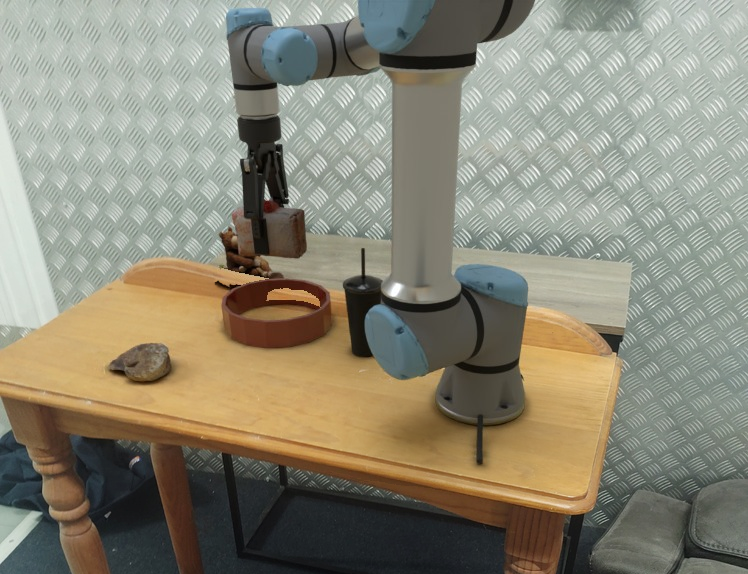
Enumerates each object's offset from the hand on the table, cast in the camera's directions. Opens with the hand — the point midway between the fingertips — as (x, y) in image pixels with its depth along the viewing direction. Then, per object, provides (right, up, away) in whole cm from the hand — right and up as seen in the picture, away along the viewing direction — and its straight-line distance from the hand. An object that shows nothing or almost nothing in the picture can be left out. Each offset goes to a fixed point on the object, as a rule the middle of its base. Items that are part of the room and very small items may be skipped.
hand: (271, 246), depth 139 cm
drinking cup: (+18, -21, +1) cm, 27 cm away
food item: (0, -1, +1) cm, 1 cm away
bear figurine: (-9, +2, +29) cm, 31 cm away
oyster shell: (-24, -25, -5) cm, 35 cm away
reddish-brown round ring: (0, -13, +10) cm, 16 cm away
